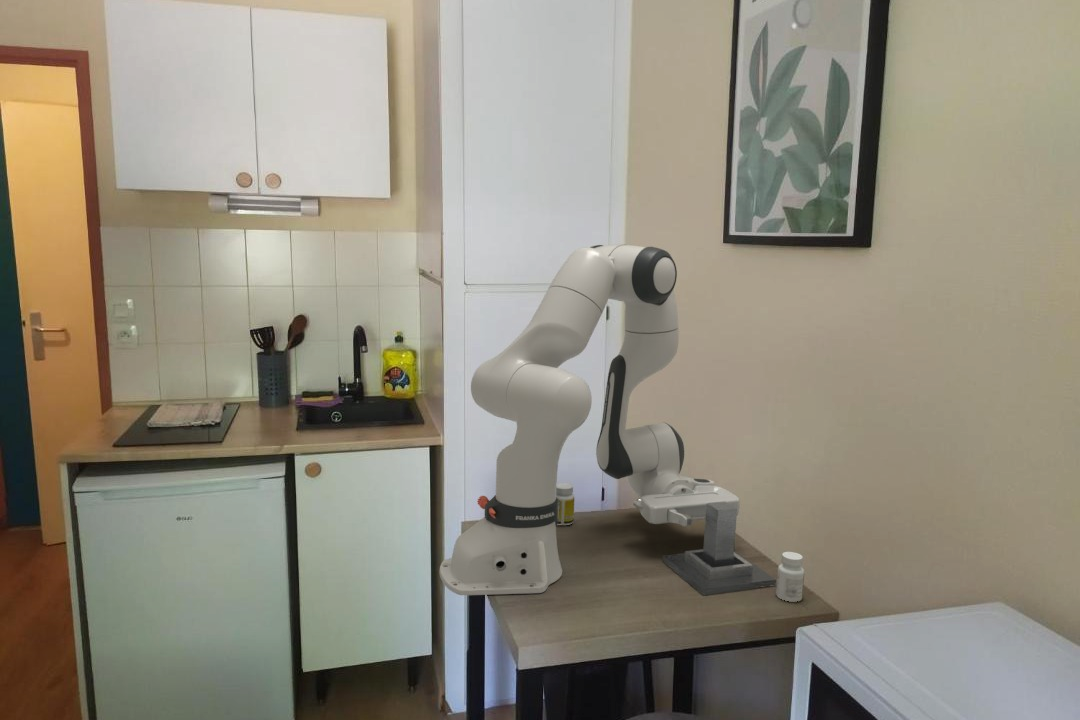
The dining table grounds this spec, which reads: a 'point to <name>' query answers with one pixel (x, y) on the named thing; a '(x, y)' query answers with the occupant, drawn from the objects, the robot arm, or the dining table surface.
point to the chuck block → (717, 573)
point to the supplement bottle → (565, 503)
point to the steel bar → (719, 534)
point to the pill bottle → (790, 577)
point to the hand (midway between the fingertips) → (710, 520)
